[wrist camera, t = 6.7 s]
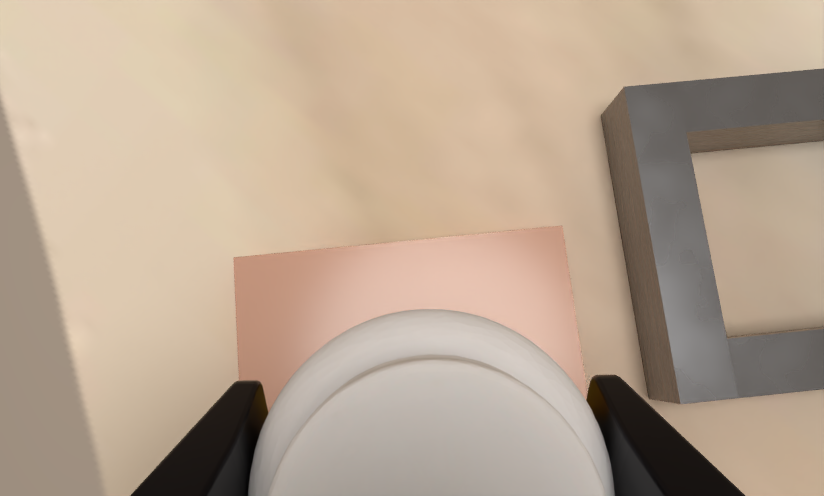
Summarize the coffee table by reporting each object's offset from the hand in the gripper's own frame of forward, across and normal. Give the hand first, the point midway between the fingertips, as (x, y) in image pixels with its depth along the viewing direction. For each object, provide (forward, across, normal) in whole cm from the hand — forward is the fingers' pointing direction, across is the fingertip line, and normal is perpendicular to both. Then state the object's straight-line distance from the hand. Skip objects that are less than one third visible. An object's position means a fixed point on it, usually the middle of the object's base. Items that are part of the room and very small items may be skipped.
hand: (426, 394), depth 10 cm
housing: (+12, -13, +5) cm, 18 cm away
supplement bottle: (+4, 0, +6) cm, 7 cm away
